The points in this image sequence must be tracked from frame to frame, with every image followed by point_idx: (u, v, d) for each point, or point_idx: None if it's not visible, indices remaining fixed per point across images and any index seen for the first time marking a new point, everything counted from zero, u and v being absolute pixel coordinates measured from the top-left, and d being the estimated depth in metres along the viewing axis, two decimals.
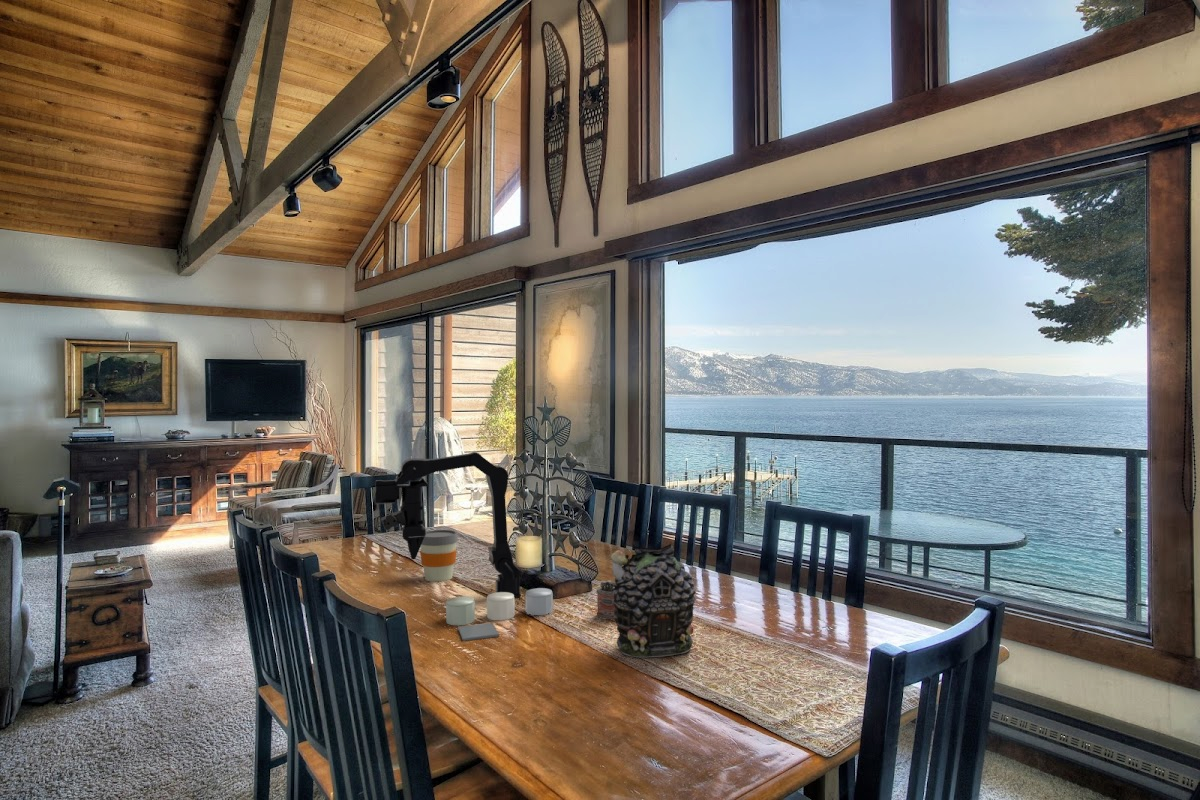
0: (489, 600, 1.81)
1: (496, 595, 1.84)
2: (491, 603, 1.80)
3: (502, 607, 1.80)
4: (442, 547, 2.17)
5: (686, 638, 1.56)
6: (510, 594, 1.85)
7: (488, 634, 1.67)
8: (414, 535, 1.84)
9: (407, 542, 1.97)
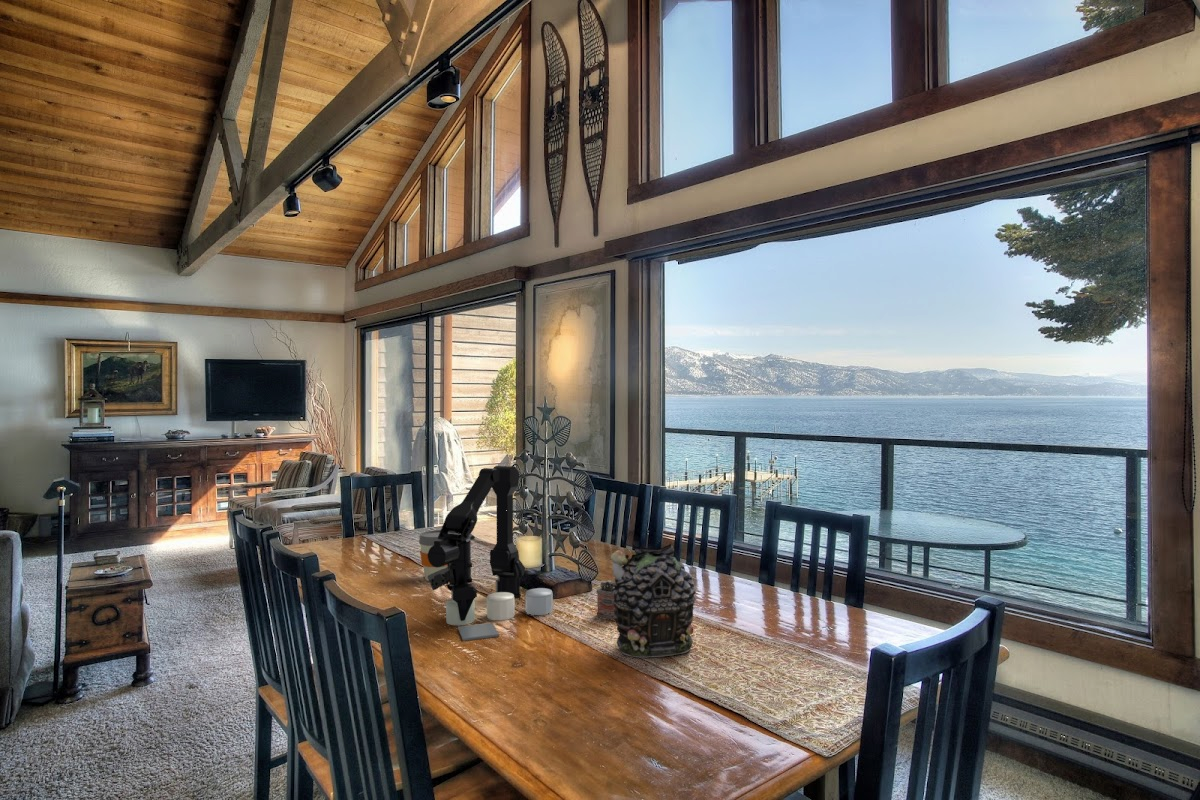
0: (489, 600, 1.81)
1: (496, 595, 1.84)
2: (491, 603, 1.80)
3: (502, 607, 1.80)
4: None
5: (686, 638, 1.56)
6: (510, 594, 1.85)
7: (488, 634, 1.67)
8: (465, 597, 1.71)
9: None
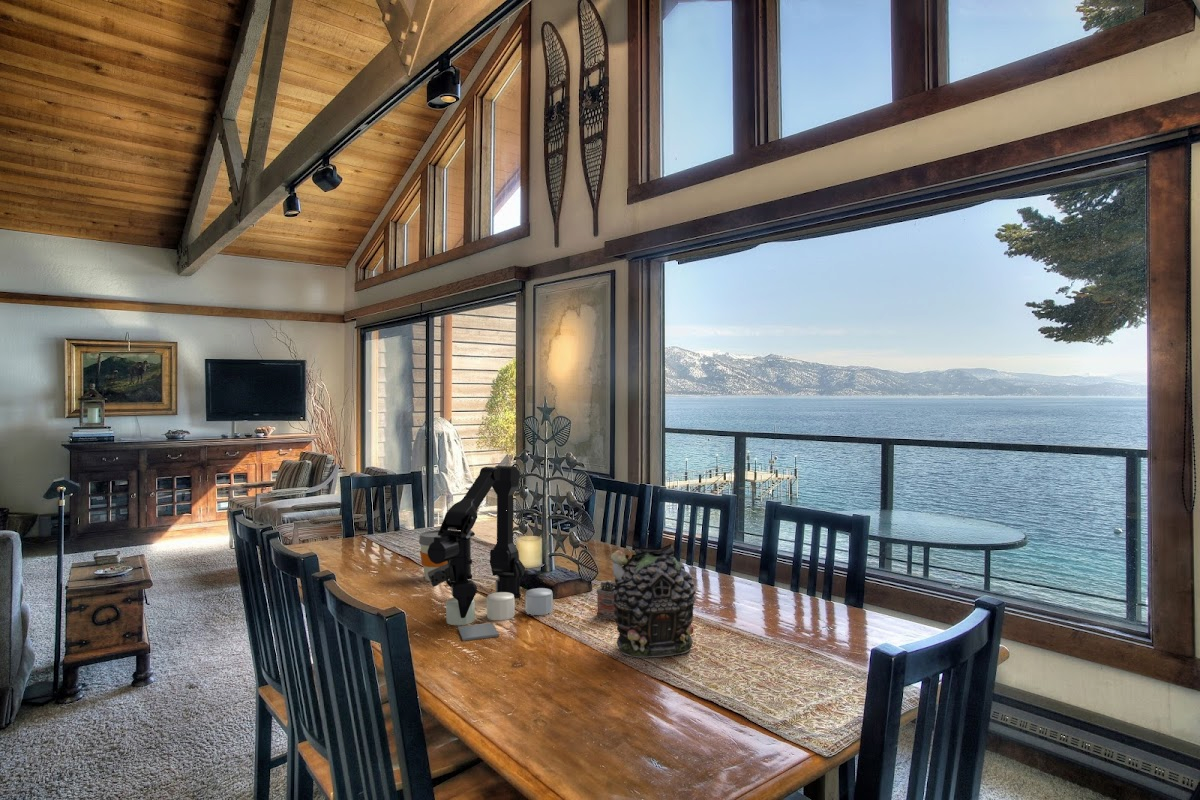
0: (489, 600, 1.81)
1: (496, 595, 1.84)
2: (491, 603, 1.80)
3: (502, 607, 1.80)
4: None
5: (686, 638, 1.56)
6: (510, 594, 1.85)
7: (488, 634, 1.67)
8: (465, 593, 1.71)
9: None
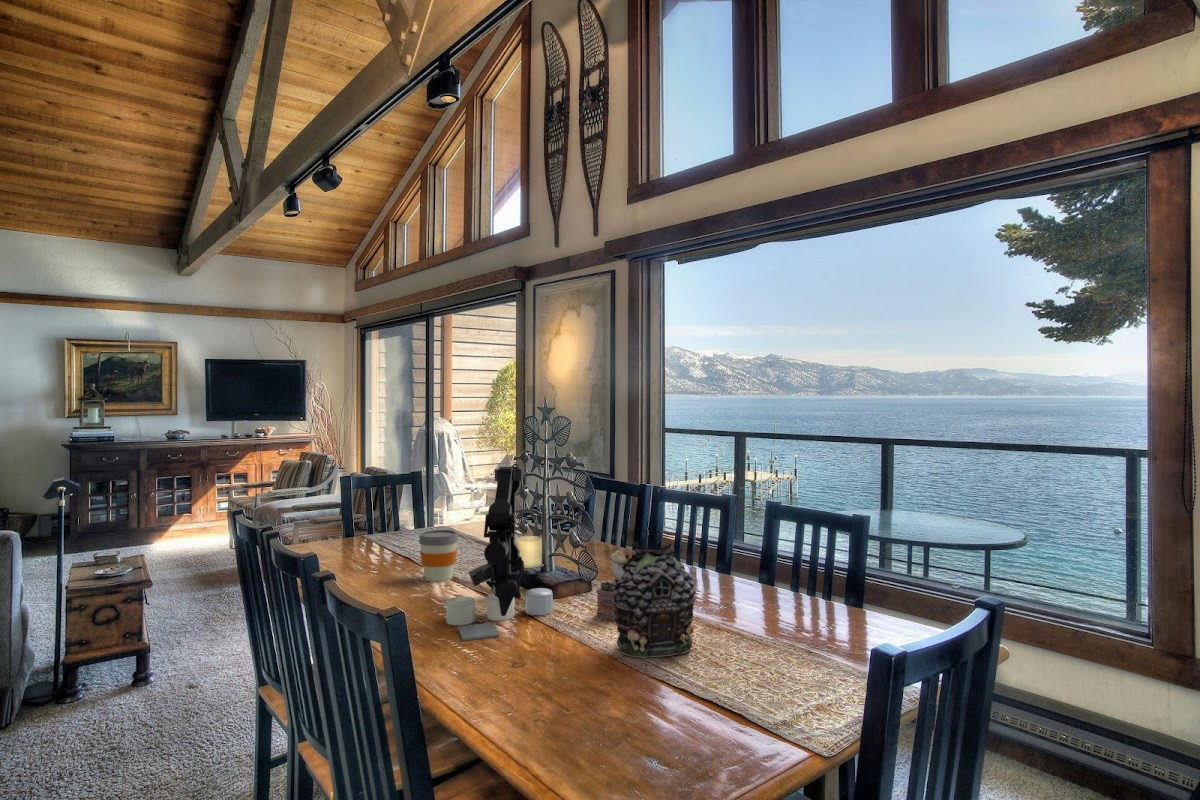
0: (489, 600, 1.81)
1: None
2: (491, 603, 1.80)
3: None
4: (442, 547, 2.17)
5: (686, 638, 1.56)
6: None
7: (488, 634, 1.67)
8: (507, 592, 1.74)
9: None
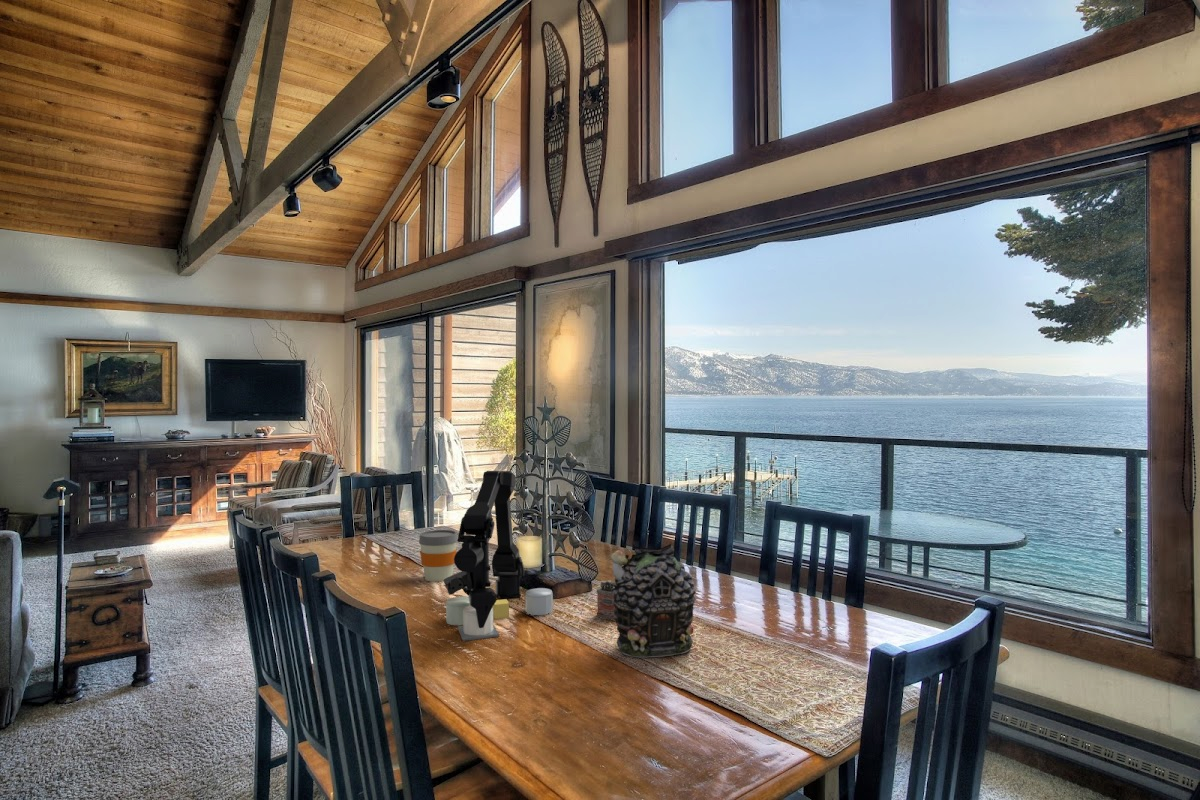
0: (465, 613, 1.68)
1: (473, 608, 1.71)
2: (467, 617, 1.67)
3: None
4: (442, 547, 2.17)
5: (686, 638, 1.56)
6: None
7: (488, 634, 1.67)
8: (484, 602, 1.61)
9: None
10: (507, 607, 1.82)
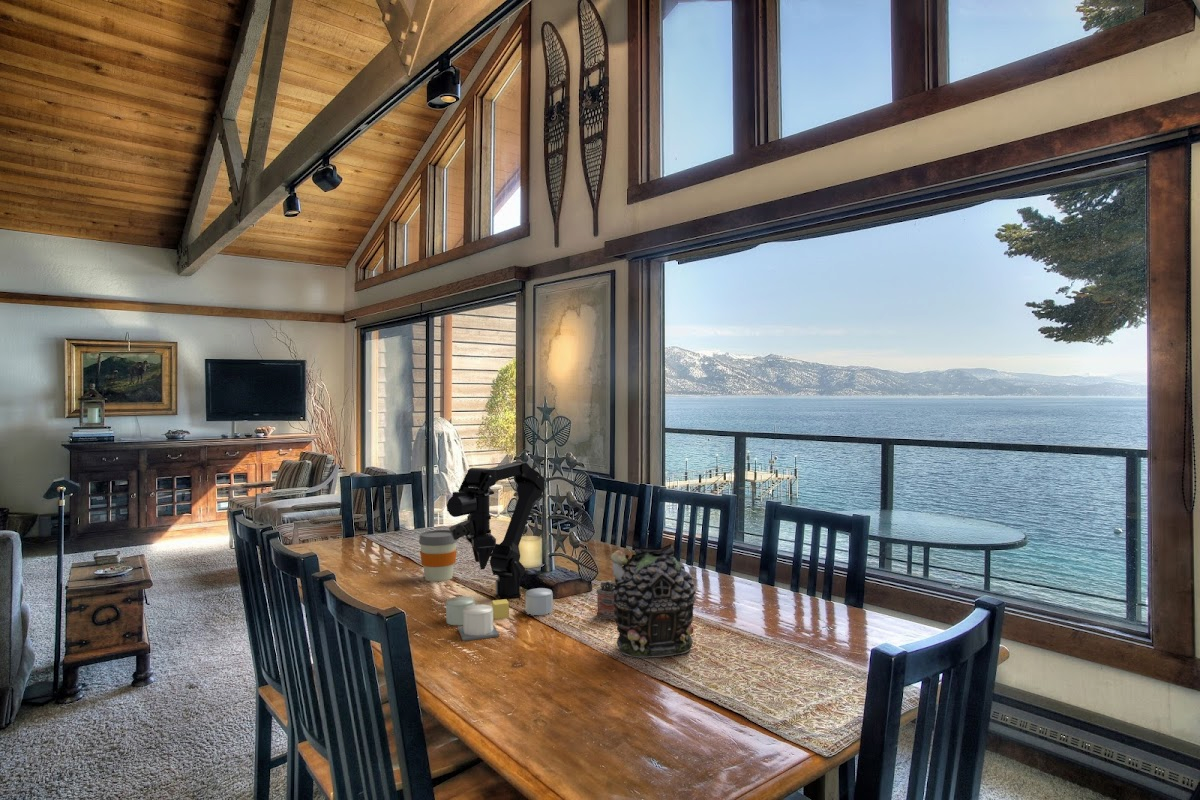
0: (465, 613, 1.68)
1: (473, 608, 1.71)
2: (467, 617, 1.67)
3: (480, 621, 1.67)
4: (442, 547, 2.17)
5: (686, 638, 1.56)
6: (489, 607, 1.72)
7: (488, 634, 1.67)
8: (485, 545, 1.82)
9: (473, 552, 1.95)
10: (507, 607, 1.82)
